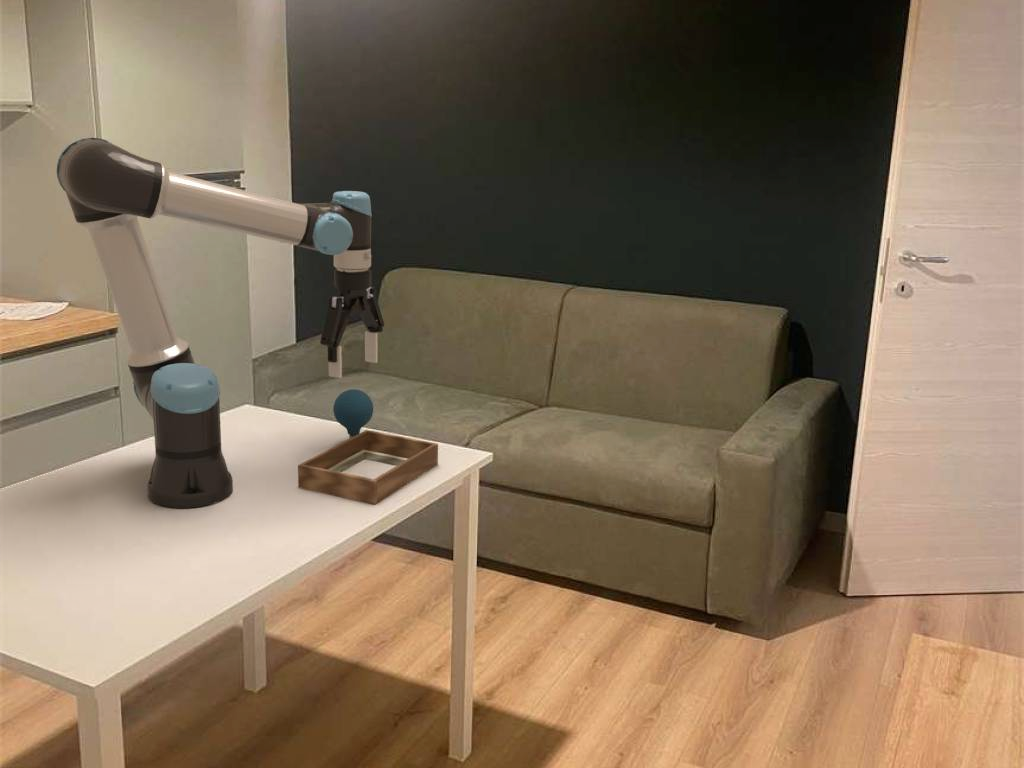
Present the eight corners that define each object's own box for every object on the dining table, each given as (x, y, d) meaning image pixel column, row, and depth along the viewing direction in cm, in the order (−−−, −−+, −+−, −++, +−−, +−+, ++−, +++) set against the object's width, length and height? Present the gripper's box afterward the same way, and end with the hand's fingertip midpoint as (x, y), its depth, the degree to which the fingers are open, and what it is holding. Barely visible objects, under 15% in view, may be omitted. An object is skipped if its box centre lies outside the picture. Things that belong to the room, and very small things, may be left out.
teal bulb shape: (370, 451, 221) (370, 396, 218) (330, 449, 221) (329, 395, 218) (376, 438, 229) (375, 385, 226) (337, 436, 229) (336, 383, 226)
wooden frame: (298, 487, 200) (297, 465, 199) (366, 450, 221) (366, 429, 220) (374, 504, 194) (374, 481, 192) (437, 464, 215) (438, 443, 213)
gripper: (333, 280, 202) (334, 386, 208) (400, 261, 224) (400, 358, 230) (300, 276, 205) (303, 380, 211) (370, 258, 227) (370, 353, 233)
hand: (353, 369), depth 220 cm, fingers open, 13 cm apart
